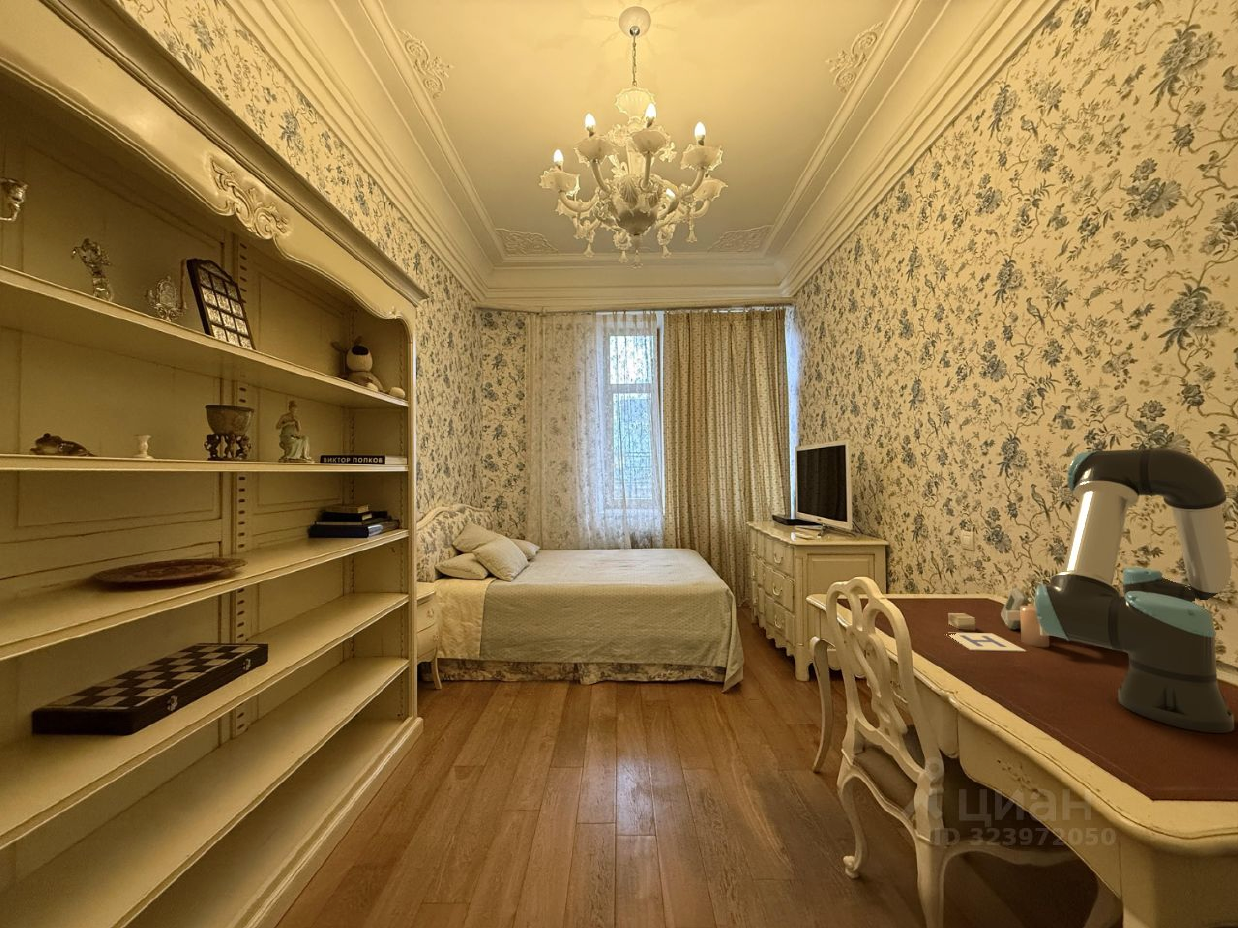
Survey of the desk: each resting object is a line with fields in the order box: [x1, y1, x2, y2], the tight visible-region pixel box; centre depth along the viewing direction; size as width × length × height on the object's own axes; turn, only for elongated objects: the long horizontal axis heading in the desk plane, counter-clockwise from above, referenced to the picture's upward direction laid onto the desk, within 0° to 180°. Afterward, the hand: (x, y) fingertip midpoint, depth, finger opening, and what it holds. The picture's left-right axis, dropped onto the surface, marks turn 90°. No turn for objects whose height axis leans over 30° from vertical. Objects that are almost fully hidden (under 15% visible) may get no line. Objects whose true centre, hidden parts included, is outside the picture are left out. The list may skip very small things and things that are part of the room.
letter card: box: [945, 632, 1027, 653], centre depth 136 cm, size 14×14×1 cm
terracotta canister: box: [1020, 605, 1050, 648], centre depth 134 cm, size 6×6×10 cm
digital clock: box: [1000, 587, 1030, 631], centre depth 150 cm, size 16×9×11 cm, turn 135°
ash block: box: [947, 612, 976, 631], centre depth 149 cm, size 5×5×4 cm
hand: (1022, 622), depth 135 cm, fingers open, 13 cm apart
